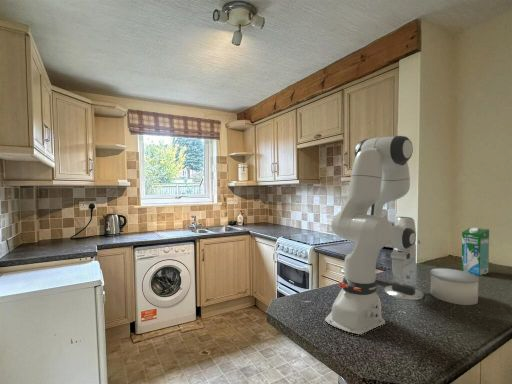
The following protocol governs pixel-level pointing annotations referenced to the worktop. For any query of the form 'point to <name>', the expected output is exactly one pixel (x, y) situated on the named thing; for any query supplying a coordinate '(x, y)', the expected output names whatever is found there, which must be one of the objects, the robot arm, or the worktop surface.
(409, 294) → the lid
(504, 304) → the worktop surface
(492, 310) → the worktop surface
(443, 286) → the cooker pot
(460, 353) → the worktop surface
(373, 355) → the worktop surface
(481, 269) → the milk carton
